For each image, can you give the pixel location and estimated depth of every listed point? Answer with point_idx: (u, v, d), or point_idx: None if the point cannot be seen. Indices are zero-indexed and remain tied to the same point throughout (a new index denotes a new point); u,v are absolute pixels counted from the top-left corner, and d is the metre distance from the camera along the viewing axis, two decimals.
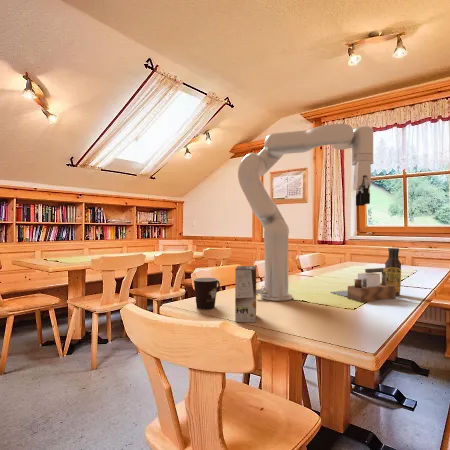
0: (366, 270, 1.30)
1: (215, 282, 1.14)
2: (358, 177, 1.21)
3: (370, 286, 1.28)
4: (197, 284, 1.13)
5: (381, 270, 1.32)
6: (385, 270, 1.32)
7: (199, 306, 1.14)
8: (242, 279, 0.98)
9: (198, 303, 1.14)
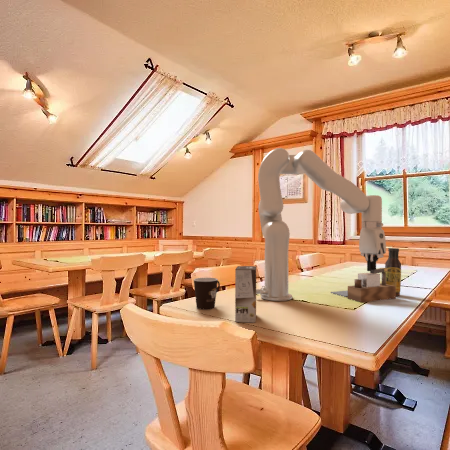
0: (371, 271, 1.28)
1: (215, 282, 1.14)
2: None
3: (370, 286, 1.28)
4: (197, 284, 1.13)
5: (383, 270, 1.31)
6: (386, 270, 1.32)
7: (199, 306, 1.14)
8: (242, 279, 0.98)
9: (198, 303, 1.14)
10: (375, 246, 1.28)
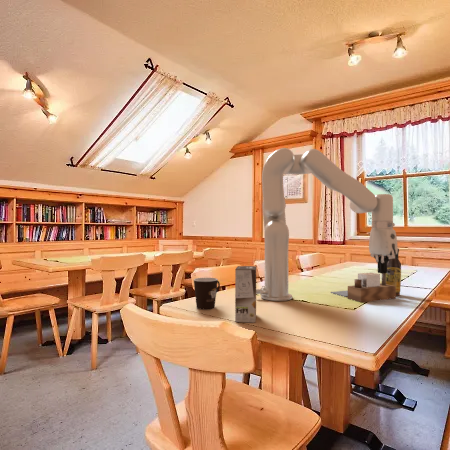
0: (391, 272, 1.24)
1: (215, 282, 1.14)
2: None
3: (370, 286, 1.28)
4: (197, 284, 1.13)
5: None
6: None
7: (199, 306, 1.14)
8: (242, 279, 0.98)
9: (198, 303, 1.14)
10: (386, 247, 1.23)
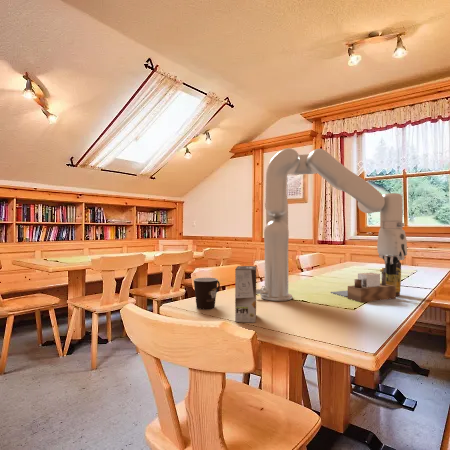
0: None
1: (215, 282, 1.14)
2: None
3: (370, 286, 1.28)
4: (197, 284, 1.13)
5: None
6: None
7: (199, 306, 1.14)
8: (242, 279, 0.98)
9: (198, 303, 1.14)
10: (395, 248, 1.19)
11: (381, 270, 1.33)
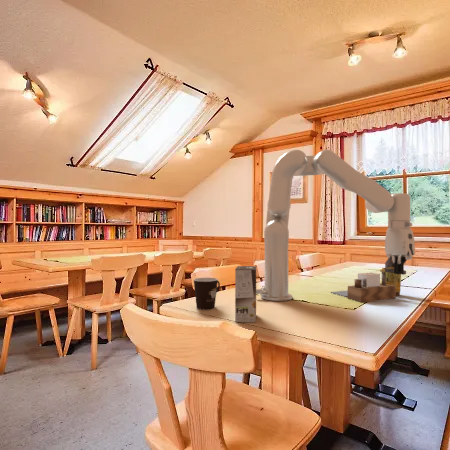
0: (404, 272, 1.25)
1: (215, 282, 1.14)
2: None
3: (370, 286, 1.28)
4: (197, 284, 1.13)
5: None
6: None
7: (199, 306, 1.14)
8: (242, 279, 0.98)
9: (198, 303, 1.14)
10: (403, 247, 1.20)
11: (382, 270, 1.32)
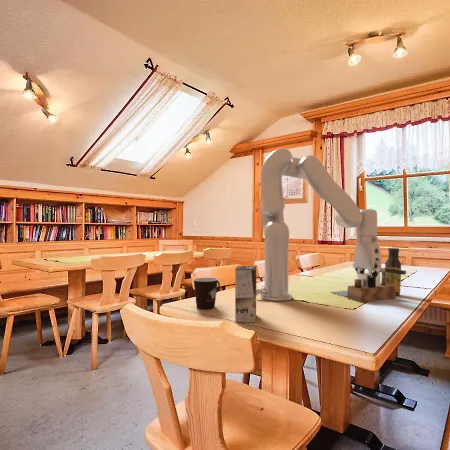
0: (404, 272, 1.25)
1: (215, 282, 1.14)
2: None
3: None
4: (197, 284, 1.13)
5: None
6: None
7: (199, 306, 1.14)
8: (242, 279, 0.98)
9: (198, 303, 1.14)
10: (370, 261, 1.26)
11: (382, 270, 1.32)
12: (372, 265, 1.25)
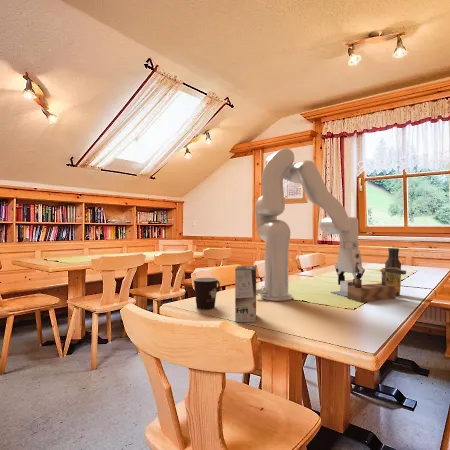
0: (404, 272, 1.25)
1: (215, 282, 1.14)
2: None
3: None
4: (197, 284, 1.13)
5: None
6: None
7: (199, 306, 1.14)
8: (242, 279, 0.98)
9: (198, 303, 1.14)
10: (351, 265, 1.35)
11: (382, 270, 1.32)
12: (353, 269, 1.35)
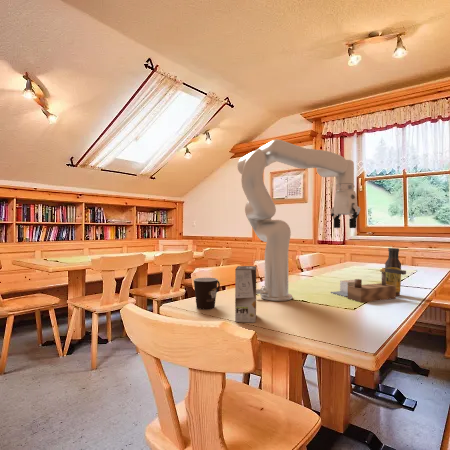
0: (404, 272, 1.25)
1: (215, 282, 1.14)
2: None
3: None
4: (197, 284, 1.13)
5: None
6: None
7: (199, 306, 1.14)
8: (242, 279, 0.98)
9: (198, 303, 1.14)
10: (347, 206, 1.38)
11: (382, 270, 1.32)
12: (349, 209, 1.37)
